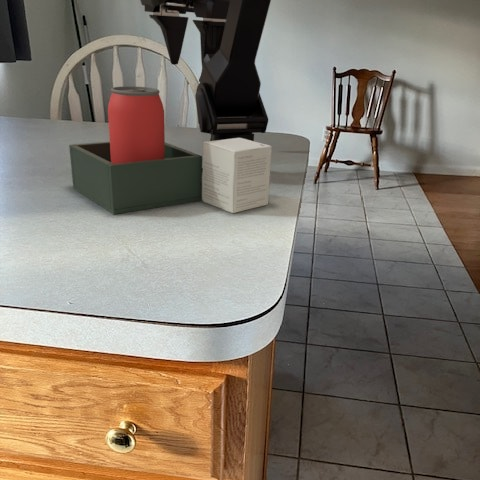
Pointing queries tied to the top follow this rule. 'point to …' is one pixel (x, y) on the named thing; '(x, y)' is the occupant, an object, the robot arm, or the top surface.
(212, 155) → the product box
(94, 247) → the top surface
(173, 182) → the open storage bin
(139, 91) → the beer can
